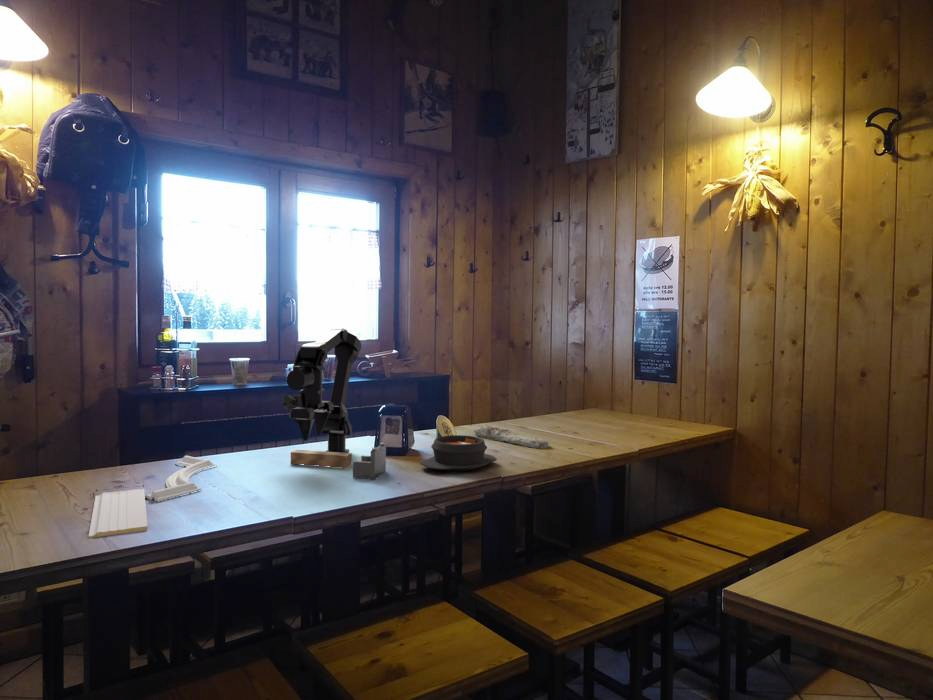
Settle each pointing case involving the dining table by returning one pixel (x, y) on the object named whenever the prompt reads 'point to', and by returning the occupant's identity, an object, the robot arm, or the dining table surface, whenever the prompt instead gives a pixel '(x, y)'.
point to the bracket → (371, 464)
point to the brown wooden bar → (321, 458)
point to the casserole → (458, 453)
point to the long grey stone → (510, 437)
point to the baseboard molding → (118, 513)
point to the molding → (181, 479)
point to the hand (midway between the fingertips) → (312, 437)
